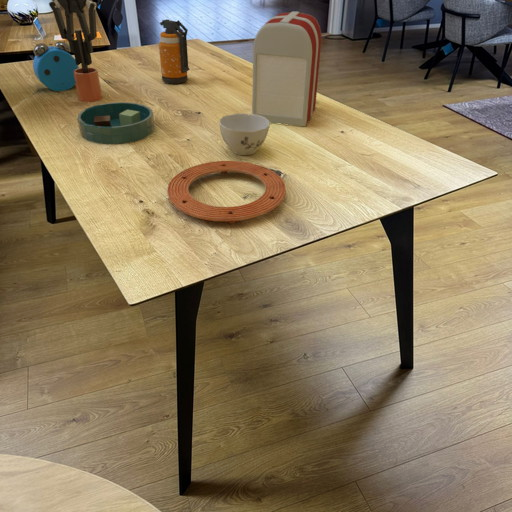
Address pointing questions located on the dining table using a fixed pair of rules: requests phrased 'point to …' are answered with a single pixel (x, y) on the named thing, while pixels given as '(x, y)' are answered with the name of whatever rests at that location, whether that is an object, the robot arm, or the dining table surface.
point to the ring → (192, 207)
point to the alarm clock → (54, 66)
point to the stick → (81, 51)
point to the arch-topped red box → (286, 68)
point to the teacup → (244, 132)
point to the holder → (88, 85)
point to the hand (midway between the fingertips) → (84, 63)
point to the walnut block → (102, 121)
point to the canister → (173, 52)
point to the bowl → (115, 123)
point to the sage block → (129, 117)
